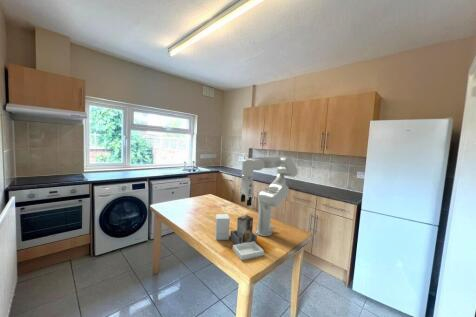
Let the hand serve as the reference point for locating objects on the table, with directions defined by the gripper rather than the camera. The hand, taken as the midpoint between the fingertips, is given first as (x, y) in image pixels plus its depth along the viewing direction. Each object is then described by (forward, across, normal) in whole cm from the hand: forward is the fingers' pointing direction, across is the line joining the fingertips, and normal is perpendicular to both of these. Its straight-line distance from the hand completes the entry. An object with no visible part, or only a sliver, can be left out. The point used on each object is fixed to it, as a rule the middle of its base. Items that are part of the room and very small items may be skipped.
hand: (245, 203), depth 131 cm
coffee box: (+26, 0, 0) cm, 26 cm away
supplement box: (+26, +10, +12) cm, 30 cm away
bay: (+26, 0, 0) cm, 26 cm away
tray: (+26, -14, +4) cm, 30 cm away
